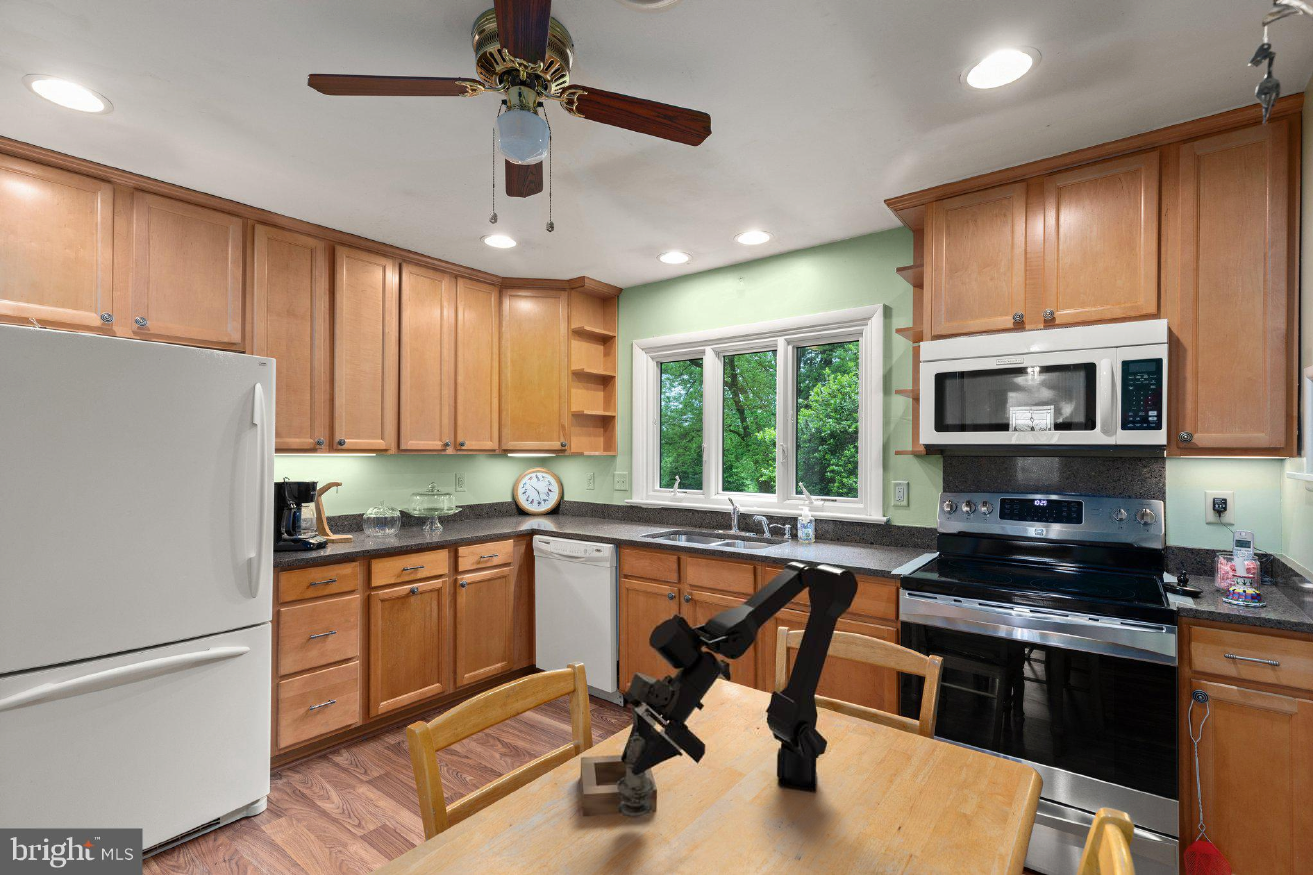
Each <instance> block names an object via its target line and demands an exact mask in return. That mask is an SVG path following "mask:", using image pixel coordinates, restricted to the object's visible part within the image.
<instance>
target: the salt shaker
mask: <svg viewBox="0 0 1313 875" xmlns="http://www.w3.org/2000/svg"><path fill="white" fill-rule="evenodd" d="M634 735H635V736H633V737H631V738H629V737H628V738H629V740H628V739H627V741H628V742H627V741H626V744H627V758H626V759H625V760H624V762H625V764H626V777H624V778H622V779H621V780H619V781H617V784H616V785H617V789H618V791H619V795H620V797H621V799H622V802H621V803H620V804H619V807H618V809H619V812H620V813H619V814H621V815H622V816H624V817H626V818H630V819H641V818H644V817H646V816H648V815H649V814H650V813H651V812H653V811H652V805H651V803H650V802H649V801H648V800H649V799H650V797H651V794H652V791H653V789H654V783H653V781H652V780H651V779H649V778H647V777H646V774H645V771H644V772H642V773H640V774H639V775H637V776H635V775H634V774H633V773H632V772H631V770H632V768H633V766H634V764H635V763H636V761H637V759H638V758H639V756H640V755H641V753H642V752H643V750H644V749H645V740H644V739H643V738H642V737H640V736H638V732H637V731H636V732H635V733H634Z"/></svg>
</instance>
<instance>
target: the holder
mask: <svg viewBox="0 0 1313 875" xmlns="http://www.w3.org/2000/svg"><path fill="white" fill-rule="evenodd" d="M621 757H622V754H613V755H598V756H585V757H583V756H581V757H580V787H581V789H580V790H581V802H582V803H581V804H582V816H583V817H589V816H602V815H603V816H604V815H605V816H606V815H617V814H618V815H619V814H621V813H620V812H619V809H618V807H619V804H620V803H621V802H622V799H621V797H620V795H619V791H618V789H617V784H610V785H609V784H608V785H597V783H605V782H619V780H621V779H622V778H624V777H626V764H625V763H623V762H622V761H621ZM645 774H646V777H647V778H649V779H651V780H652V781H653V783H654V789H653V791H652V794H651V797H650V799H649V800H648V801H649V802H650V803H651V805H652V811H651V812H657V811H658V810H657V806H658V805H657V803H658V788H657V785H656V781H655V777H654V774H653V770H652V768H650V769H648V770H646V771H645Z"/></svg>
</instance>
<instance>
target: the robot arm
mask: <svg viewBox="0 0 1313 875" xmlns="http://www.w3.org/2000/svg"><path fill="white" fill-rule="evenodd" d="M858 588H859V581H857V578H856V576H855V574H854V573H853V572H852V571H851V570H847V569H844V568H840V567H836V566H832V565H830V564H829V565H828V564H820V565H818V566H817V567H814V566H811V565H808V564H805V563H801V562H797V561H792V562H789V563H787V564H786V565H785V567H784V569H783V570H782V571H781V572H779V573H778V574H777V575H776V576H775V577H773V578H772V579H771V580H770V581H768V582H767V583H766V584H765V585H763V587H761V588H760V589H758V590H757V591H756V592H755V593H754V594H752V595H751V597H749V598H748V599H747V600H745V601H744V602H743V603H742V604H740V605H738V606H735V607H733V608H732V607H731V608H729V609H725V610H723V611H721V612H719V613H717V614H716V615H714V616H711V617H710V618H709V619H708V620H707V621H706V622H705V623H702V624H700V625H697V626H694V627H692V626H691V625H690V624H689V623H688V621H687V619H686V618H684V616H682V615H680V614H678V613H675V614H674V615H673V617H672V618H668V619H666V620H664V621H662V622H661V623H660V624H658V625H656V626H655V627H654V628H653V630H652V631H651V634H650V636H649V641H648V643H649V646H650V647H651V648H652V649H653V651H655V653H656V654H658V655H659V656H660V657H661V658H662V659H663V660H664V661H665V662H666V663H667V664H668V665H669V666H671V668H673V669H675V670H678V671H676V673H675V675H674V676H671V675H670V674H668V675H665V676H664V678H663V679H660V678H659V679H658V678H654V677H651V676H648V675H645V674H643V673H640V672H637V671H636V672H634V675H633V677H632V679H631V682H630V685H629V687H628V689H627V691H626V692H625V693H624V694H623V697H624V698H625V699H626V700H627V701H628V702H629V703H630V704H632V706H634V707H631V708H630V712H631V713H632V722H633V723H632V727H631V731H630V733H629V736H628V739H627V741H626V743H625V747H624V749H623V752H622V754H621V755H622V757H621V761H622V762H623V763H625V762H624V760H625V759H626V758H627V742H628V740H629V738H631V737H633V736H635V735H634V733H635V732H636V731H637V732H638V736H640V737H642V738H643V739H644V740H645V749H644V750H643V752H642V753H641V755H640V756H639V758H638V759H637V761H636V763H635V764H634V766H633V768H632V770H631V772H632V773H633V774H634V775H635V776H637V775H639V774H640V773H642V772H644V771H646V770H648V769H650V768H651V769H652V768H653V767H655V766H657V765H659V764H661V763H663V762H665V761H668V760H670V759H672V758H675V757H678V756H679V757H682V756H683V755H684V754H683V753H682V752H681V751H683V752H684V753H685V754H686V755H687V756H689V757H690V759H692V760H693V761H694V762H695V763H696V764H699V763H700V761H701V760H702V759H703V757H704V756H705V755H706V744H705V743H704V742H703V741H702V740H701V739H700V738H699V737H698V736H697V735H696V734H695V733H694V732H693V731H691V730H690V729H689V726H688V725H687V724H686V722H687V720H688V719H689V718H690V717H691V715H692V714H693V712H694V711H695V709H697V710H699V711H702V710H703V708H704V707H705V705H704V704H703V703H702V702H701V701H702V700H703V699H704V697H705V696H706V694H707V693H708V692H709V691H710V689H711V688H712V687H713V685H714V684H715V682H716V681H717V679H718V678H719V677H722V678H723V679H725V680H726V681H729V682H730V681H731V680H732V676H731V670H730V667H731V665H730V663H729V662H728V661H726V660H725V659H719V658H718V657H717V656H716V655H715V654H717V655H718V654H719V655H721V656H723V657H724V658H726V659H728V660H738V659H740V658H741V657H743V656H744V655H745V654H746V653H747V651H748V650H749V649H750V648H751V646H752V645H753V644H755V642H756V639H757V637H758V633H759V630H760V629H761V628H762V627H763V626H764V625H765V624H766V623H767V622H768V621H769V620H770V619H772V618H773V617H774V616H775V615H777V613H779V612H780V611H781V610H783V608H785V607H786V606H787V605H788V604H790V603H791V602H792V601H793V600H794V599H795V598H796V597H797V596H799V595H800V594H801V593H802V592H803V591H805V590H806V589H808V590H807V592H808V593H807V595H808V599H809V604H810V612H809V615H808V618H807V622H806V624H805V628H804V632H803V634H802V637H801V641H800V645H799V647H798V650H797V654H796V657H795V660H794V663H793V666H792V670H791V674H790V676H789V680H788V682H787V685H786V686H785V687H784V688H783V689H782V690H781V691H780V692H779V691H776V690H774V691H772V694H771V695H770V696H771V697H770V701H769V705H768V706H767V708H766V710H765V713H766V714H767V716H766V723H767V725H768V728H769V730H770V731H771V732H772V735H773V738H774V739H775V740H776V741H779V742H780V743H781V744H780V747H779V748H777V755H776V757H777V758H776V777H777V778H779V779H778V786H780V787H783V788H789V789H796V790H803V791H807V792H813V793H815V792H817V791H818V790H817V788H818V787H817V781H818V780H817V779H818V772H817V759H819V758H820V755H824V754H825V753H826V749H827V747H828V741H827V740H826V739H825V738H824V737H823V735H822V734H821V733H820V732H819V731H818V730H817V728H816V727H817V722H818V711H817V710H818V709H817V704H816V698H815V695H816V692H817V688H818V685H819V682H820V679H821V676H822V672H823V668H824V666H825V662H826V659H827V656H828V655H827V654H828V652H829V649H830V645H831V643H832V639H833V635H834V632H835V629H836V626H837V622H838V620H839V618H840V617H842V615H843V614H845V613H846V612H847V611H848V610H849V609H850V608H851V606H852V604H853V602H854V599H855V597H856V595H857V592H858ZM702 648H704V649H706V650H707V651H706V650H705V651H703V650H702ZM656 725H659V726H660V727H661V729H660V731H659V730H657V728H656Z"/></svg>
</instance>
